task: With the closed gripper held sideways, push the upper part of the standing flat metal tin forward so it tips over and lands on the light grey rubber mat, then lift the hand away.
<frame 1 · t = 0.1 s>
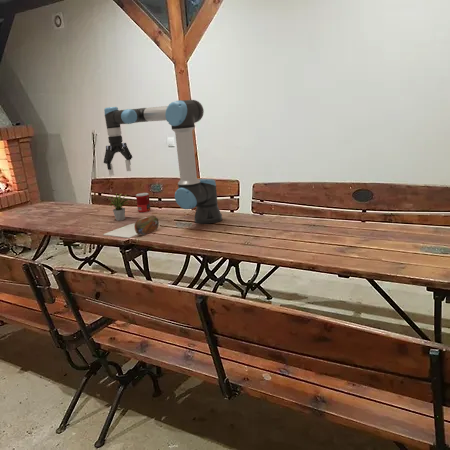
hand: (120, 173, 261), 28 cm above the table, tool pointing down, fingers open, 13 cm apart
mat: (130, 230, 244), on the table
canned food: (144, 211, 288), on the table
tin: (147, 233, 238), on the table
house plant: (119, 220, 271), on the table
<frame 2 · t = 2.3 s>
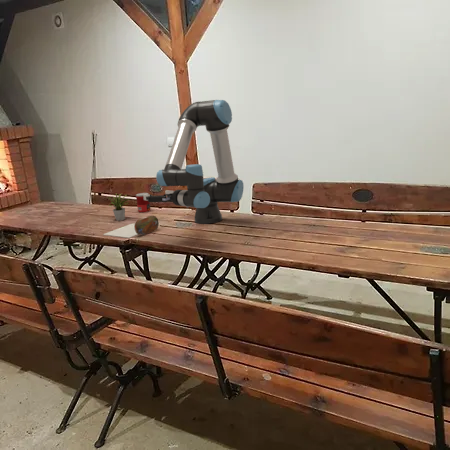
hand: (155, 195, 228), 20 cm above the table, tool horizontal, fingers open, 13 cm apart
nothing on the table moved.
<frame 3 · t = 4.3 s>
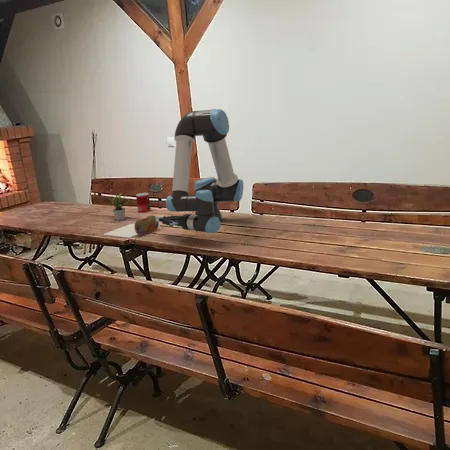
hand: (156, 218, 230), 9 cm above the table, tool horizontal, fingers closed
nothing on the table moved.
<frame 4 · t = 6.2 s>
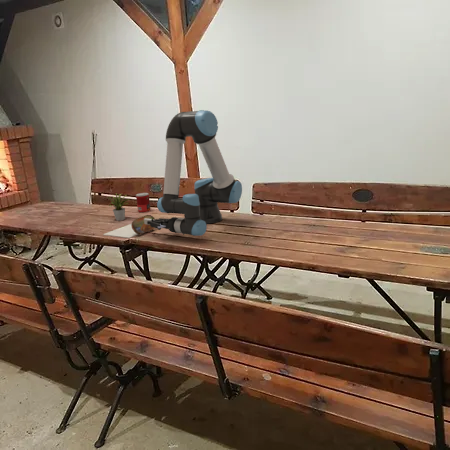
hand: (145, 221, 236), 6 cm above the table, tool horizontal, fingers closed
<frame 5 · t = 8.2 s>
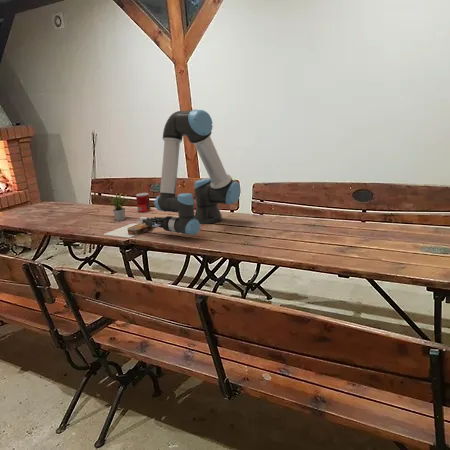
hand: (140, 219, 239), 6 cm above the table, tool horizontal, fingers closed
tin: (146, 230, 238), point 1 cm above the table, touching mat
everything else where it was.
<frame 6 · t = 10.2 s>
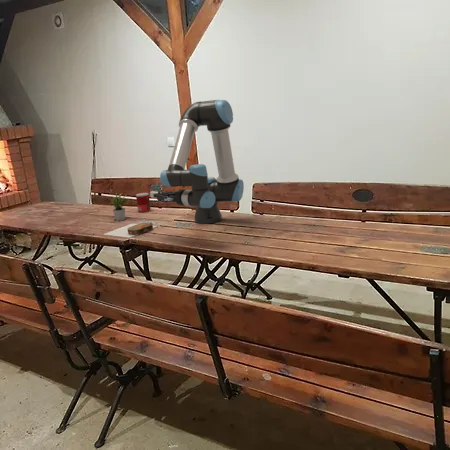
hand: (151, 194, 228), 21 cm above the table, tool horizontal, fingers closed
nothing on the table moved.
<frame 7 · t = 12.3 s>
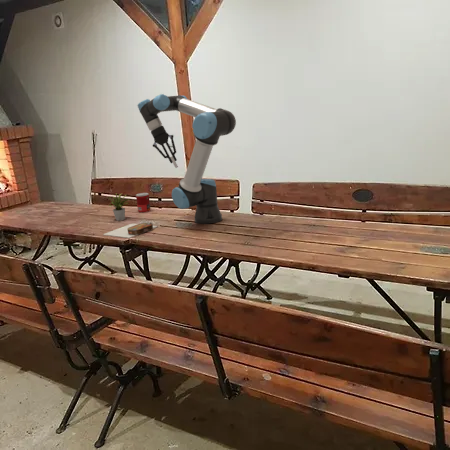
hand: (176, 167, 250), 30 cm above the table, tool tilted 20°, fingers closed
nothing on the table moved.
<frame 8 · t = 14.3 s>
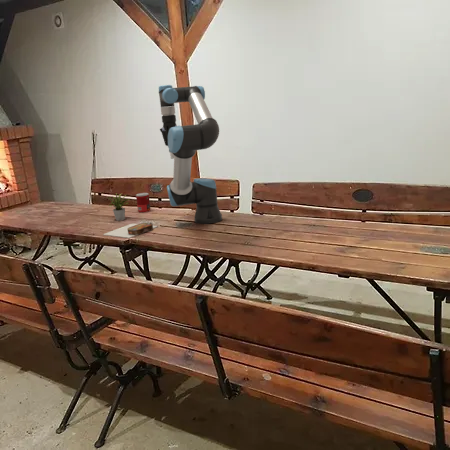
hand: (173, 158, 254), 34 cm above the table, tool pointing down, fingers closed
nothing on the table moved.
at the end: tin tilted 85°; tin touching mat; tin inside the target area (2.8 cm from its centre), point 1.3 cm above the table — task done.
